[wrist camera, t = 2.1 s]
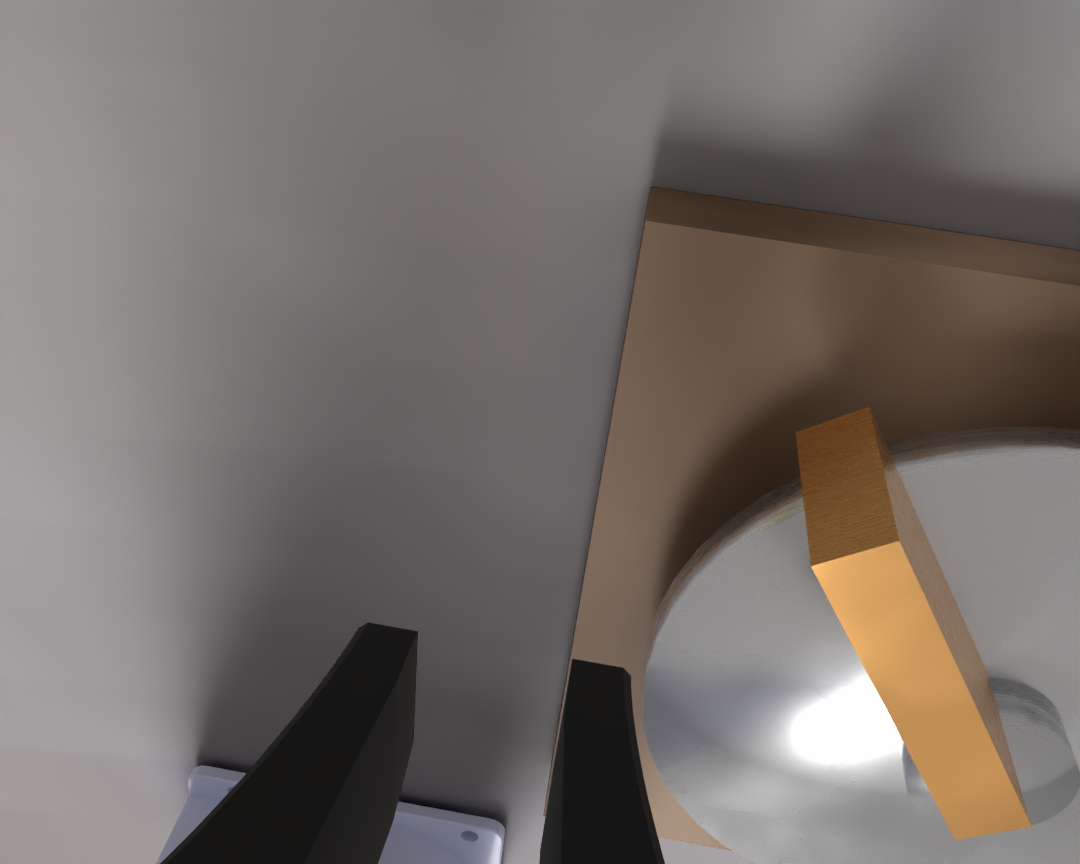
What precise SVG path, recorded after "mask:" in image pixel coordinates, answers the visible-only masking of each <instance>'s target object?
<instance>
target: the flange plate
mask: <svg viewBox="0 0 1080 864" xmlns="http://www.w3.org/2000/svg"><path fill="white" fill-rule="evenodd" d="M796 441H797V449H798V458H799V467H800V476H798V477H796V478H794V479H792V480H790V481H789V482H787V483H785V484H783V485H782V486H780V487H778V488H776V489H774V490H773V491H771V492H769V493H767V494H766V495H764V496H762V497H760V498H759V499H757V500H756V501H754V502H753V503H751V504H750V505H749V506H747V507H746V508H745V509H743V510H742V511H741V512H739V513H738V514H737V515H735V516H734V517H732V518H731V519H730V520H728V521H727V522H726V523H724V524H723V525H722V526H721V527H720V528H719V529H718V530H717V531H716V532H715V533H714V534H713V535H712V536H711V537H710V538H709V539H708V540H706V541H705V542H704V543H703V544H702V545H701V546H700V547H699V548H698V549H697V550H696V551H695V552H694V554H693V555H692V556H691V558H690V559H689V560H688V561H687V563H686V564H685V565H684V567H683V568H682V569H681V571H680V572H679V573H678V574H677V576H676V577H675V578H674V580H673V582H672V584H671V585H670V587H669V589H668V591H667V593H666V595H665V597H664V598H663V600H662V602H661V604H660V606H659V608H658V611H657V614H656V617H655V620H654V623H653V626H652V629H651V632H650V635H649V640H648V648H647V655H646V662H645V675H644V688H643V717H644V730H645V734H646V738H647V742H648V745H649V749H650V753H651V756H652V758H653V760H654V763H655V765H656V767H657V769H658V771H659V773H660V776H661V778H662V780H663V781H664V783H665V784H666V786H667V787H668V789H669V790H670V792H671V793H672V795H673V796H674V797H675V799H676V800H677V802H678V803H679V804H680V805H681V806H682V808H683V809H684V810H685V811H686V812H687V813H688V814H689V815H690V816H691V817H692V818H693V819H694V821H695V822H696V823H697V824H698V825H699V826H701V827H702V828H703V829H704V830H705V831H707V832H708V833H709V834H710V835H711V836H713V837H714V838H715V839H716V840H717V841H719V842H720V843H721V844H722V845H724V846H725V847H727V848H728V849H730V850H732V851H733V852H735V853H736V854H738V855H739V856H741V857H742V858H744V859H745V860H747V861H748V862H750V863H752V864H1080V430H1074V429H1065V428H1055V427H991V428H981V429H971V430H961V431H951V432H942V433H937V434H932V435H927V436H922V437H917V438H912V439H907V440H902V441H897V442H892V443H888V444H885V441H884V439H883V437H882V435H881V432H880V430H879V428H878V426H877V423H876V421H875V419H874V417H873V414H872V412H871V410H870V408H869V407H866V408H863V409H860V410H857V411H854V412H852V413H849V414H846V415H843V416H840V417H837V418H834V419H831V420H828V421H825V422H822V423H820V424H817V425H814V426H811V427H808V428H805V429H802V430H799V431H796Z"/></svg>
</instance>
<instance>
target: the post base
mask: <svg viewBox="0 0 1080 864" xmlns="http://www.w3.org/2000/svg"><path fill="white" fill-rule="evenodd" d="M866 407H869V408H870V410H871V412H872V414H873V417H874V419H875V421H876V423H877V426H878V428H879V430H880V432H881V435H882V437H883V439H884V441H885V444H888V443H892V442H897V441H902V440H907V439H912V438H917V437H922V436H927V435H932V434H937V433H942V432H951V431H961V430H971V429H981V428H991V427H1055V428H1065V429H1074V430H1080V251H1077V250H1071V249H1064V248H1057V247H1051V246H1044V245H1037V244H1030V243H1024V242H1017V241H1010V240H1003V239H997V238H990V237H983V236H977V235H970V234H963V233H956V232H950V231H943V230H936V229H930V228H923V227H916V226H909V225H903V224H896V223H889V222H883V221H876V220H869V219H862V218H856V217H849V216H842V215H835V214H829V213H822V212H815V211H809V210H802V209H795V208H788V207H782V206H775V205H768V204H762V203H755V202H748V201H741V200H735V199H728V198H721V197H715V196H708V195H701V194H694V193H688V192H681V191H674V190H667V189H661V188H654V187H650V192H649V198H648V204H647V210H646V215H645V221H644V227H643V233H642V239H641V245H640V250H639V256H638V262H637V268H636V274H635V280H634V285H633V291H632V297H631V303H630V309H629V315H628V320H627V326H626V332H625V338H624V344H623V350H622V355H621V361H620V367H619V373H618V379H617V385H616V390H615V396H614V402H613V408H612V414H611V420H610V425H609V431H608V437H607V443H606V449H605V455H604V460H603V466H602V472H601V478H600V484H599V490H598V495H597V501H596V507H595V513H594V519H593V525H592V530H591V536H590V542H589V548H588V554H587V560H586V565H585V571H584V577H583V583H582V589H581V595H580V600H579V606H578V612H577V618H576V624H575V630H574V635H573V641H572V647H571V653H570V659H569V665H568V670H567V676H566V682H565V688H564V694H563V700H562V705H561V711H560V717H559V723H558V729H557V735H556V740H555V746H554V752H553V758H552V764H551V770H550V776H549V783H548V789H547V795H546V802H545V808H544V815H543V816H546V811H547V805H548V798H549V792H550V786H551V779H552V773H553V767H554V761H555V755H556V749H557V743H558V738H559V732H560V726H561V720H562V715H563V709H564V703H565V697H566V692H567V686H568V680H569V674H570V669H571V663H572V659H577V660H583V661H588V662H594V663H600V664H606V665H611V666H617V667H623V668H624V669H625V670H626V671H627V672H628V673H629V674H630V675H631V692H632V705H633V715H634V723H635V730H636V737H637V744H638V749H639V755H640V760H641V766H642V771H643V776H644V781H645V786H646V790H647V795H648V800H649V804H650V808H651V812H652V816H653V820H654V824H655V828H656V832H657V836H658V837H660V838H665V839H671V840H676V841H682V842H687V843H692V844H698V845H703V846H709V847H714V848H719V849H725V850H730V849H728V848H727V847H725V846H724V845H722V844H721V843H720V842H719V841H717V840H716V839H715V838H714V837H713V836H711V835H710V834H709V833H708V832H707V831H705V830H704V829H703V828H702V827H701V826H699V825H698V824H697V823H696V822H695V821H694V819H693V818H692V817H691V816H690V815H689V814H688V813H687V812H686V811H685V810H684V809H683V808H682V806H681V805H680V804H679V803H678V802H677V800H676V799H675V797H674V796H673V795H672V793H671V792H670V790H669V789H668V787H667V786H666V784H665V783H664V781H663V780H662V778H661V776H660V773H659V771H658V769H657V767H656V765H655V763H654V760H653V758H652V756H651V753H650V749H649V745H648V742H647V738H646V734H645V730H644V717H643V688H644V675H645V662H646V655H647V648H648V640H649V635H650V632H651V629H652V626H653V623H654V620H655V617H656V614H657V611H658V608H659V606H660V604H661V602H662V600H663V598H664V597H665V595H666V593H667V591H668V589H669V587H670V585H671V584H672V582H673V580H674V578H675V577H676V576H677V574H678V573H679V572H680V571H681V569H682V568H683V567H684V565H685V564H686V563H687V561H688V560H689V559H690V558H691V556H692V555H693V554H694V552H695V551H696V550H697V549H698V548H699V547H700V546H701V545H702V544H703V543H704V542H705V541H706V540H708V539H709V538H710V537H711V536H712V535H713V534H714V533H715V532H716V531H717V530H718V529H719V528H720V527H721V526H722V525H723V524H724V523H726V522H727V521H728V520H730V519H731V518H732V517H734V516H735V515H737V514H738V513H739V512H741V511H742V510H743V509H745V508H746V507H747V506H749V505H750V504H751V503H753V502H754V501H756V500H757V499H759V498H760V497H762V496H764V495H766V494H767V493H769V492H771V491H773V490H774V489H776V488H778V487H780V486H782V485H783V484H785V483H787V482H789V481H790V480H792V479H794V478H796V477H798V476H800V467H799V458H798V449H797V441H796V431H799V430H802V429H805V428H808V427H811V426H814V425H817V424H820V423H822V422H825V421H828V420H831V419H834V418H837V417H840V416H843V415H846V414H849V413H852V412H854V411H857V410H860V409H863V408H866ZM730 851H732V850H730Z"/></svg>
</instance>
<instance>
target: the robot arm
mask: <svg viewBox="0 0 1080 864" xmlns="http://www.w3.org/2000/svg"><path fill="white" fill-rule="evenodd" d="M417 640H418V631H412V630H407V629H401V628H395V627H389V626H384V625H378V624H372V623H367V624H365V625H363V626H361V627H359V628H358V630H357V632H356V633H355V635H354V636H353V638H352V639H351V641H350V642H349V644H348V645H347V647H346V648H345V650H344V651H343V653H342V654H341V656H340V657H339V658H338V660H337V661H336V663H335V664H334V666H333V667H332V668H331V670H330V671H329V672H328V674H327V675H326V677H325V678H324V679H323V681H322V682H321V683H320V685H319V686H318V687H317V689H316V690H315V691H314V692H313V694H312V695H311V696H310V698H309V699H308V700H307V701H306V703H305V704H304V705H303V707H302V708H301V709H300V710H299V712H298V713H297V714H296V715H295V717H294V718H293V719H292V720H291V721H290V723H289V724H288V725H287V726H286V727H285V729H284V730H283V731H282V732H281V733H280V735H279V736H278V737H277V738H276V739H275V741H274V742H273V743H272V744H271V745H270V747H269V748H268V749H267V750H266V751H265V753H264V754H263V755H262V756H261V757H260V758H259V760H258V761H257V762H256V763H255V764H254V765H253V767H252V768H251V769H250V770H249V771H248V772H247V773H243V772H238V771H232V770H227V769H222V768H216V767H211V766H198V767H195V768H194V769H193V770H192V772H191V774H190V776H189V778H188V787H189V793H190V796H189V797H188V799H187V801H186V803H185V805H184V808H183V810H182V812H181V814H180V816H179V818H178V820H177V822H176V824H175V826H174V828H173V830H172V832H171V834H170V836H169V838H168V840H167V842H166V844H165V847H164V849H163V851H162V853H161V855H160V857H159V859H158V861H157V863H156V864H501V859H502V852H503V844H504V837H505V828H504V827H503V826H502V824H501V823H499V822H498V821H496V820H494V819H490V818H485V817H480V816H475V815H469V814H464V813H458V812H453V811H448V810H442V809H437V808H431V807H426V806H421V805H415V804H410V803H405V802H399V801H398V800H399V796H400V792H401V788H402V785H403V780H404V776H405V772H406V768H407V764H408V760H409V756H410V752H411V748H412V744H413V740H414V715H415V690H416V665H417ZM540 864H665V862H664V859H663V855H662V852H661V848H660V844H659V840H658V836H657V832H656V828H655V824H654V820H653V816H652V812H651V808H650V804H649V800H648V795H647V790H646V786H645V781H644V776H643V771H642V766H641V760H640V755H639V749H638V744H637V737H636V730H635V723H634V715H633V705H632V692H631V675H630V674H629V673H628V672H627V671H626V670H625V669H624V668H623V667H617V666H611V665H606V664H600V663H594V662H588V661H583V660H577V659H572V663H571V669H570V674H569V680H568V686H567V692H566V697H565V703H564V709H563V715H562V720H561V726H560V732H559V738H558V743H557V749H556V755H555V761H554V767H553V773H552V779H551V786H550V792H549V798H548V805H547V811H546V818H545V824H544V830H543V837H542V843H541V850H540Z"/></svg>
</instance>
